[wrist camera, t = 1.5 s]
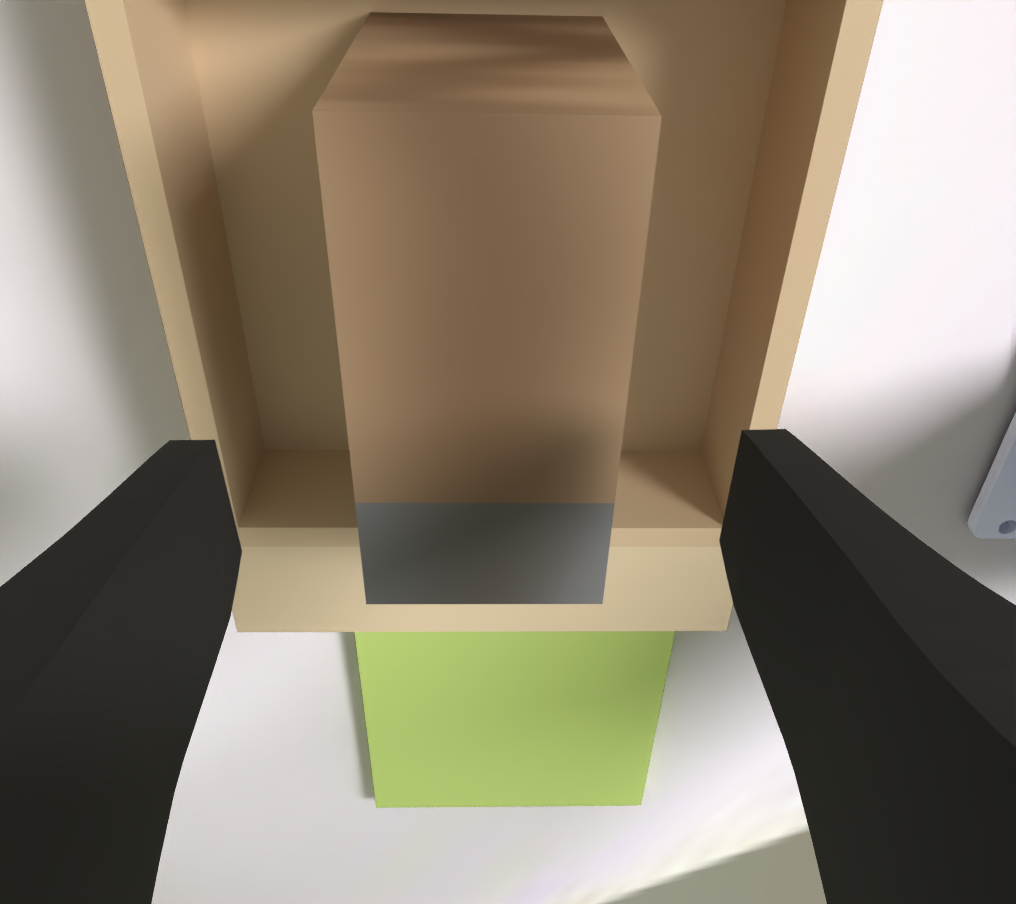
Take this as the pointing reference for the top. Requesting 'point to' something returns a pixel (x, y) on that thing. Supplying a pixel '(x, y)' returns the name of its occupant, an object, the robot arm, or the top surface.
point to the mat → (511, 716)
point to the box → (485, 296)
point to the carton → (309, 303)
